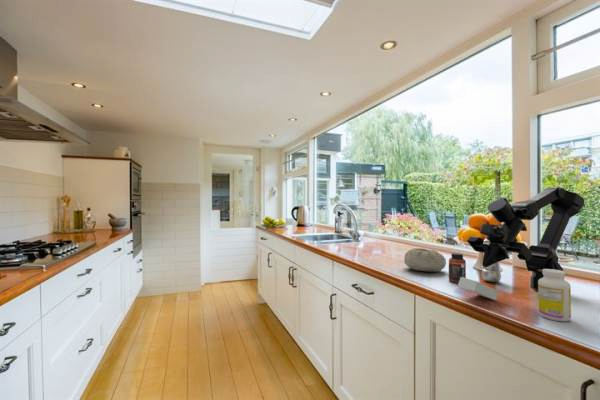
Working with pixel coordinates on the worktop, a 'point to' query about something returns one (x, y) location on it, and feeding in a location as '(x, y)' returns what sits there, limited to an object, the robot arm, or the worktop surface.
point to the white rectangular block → (478, 288)
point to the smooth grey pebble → (424, 260)
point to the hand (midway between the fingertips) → (484, 266)
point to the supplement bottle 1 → (457, 267)
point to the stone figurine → (491, 272)
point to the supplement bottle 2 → (554, 296)
